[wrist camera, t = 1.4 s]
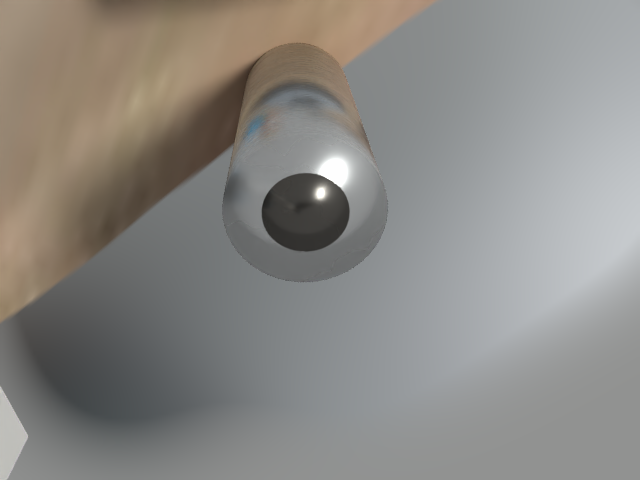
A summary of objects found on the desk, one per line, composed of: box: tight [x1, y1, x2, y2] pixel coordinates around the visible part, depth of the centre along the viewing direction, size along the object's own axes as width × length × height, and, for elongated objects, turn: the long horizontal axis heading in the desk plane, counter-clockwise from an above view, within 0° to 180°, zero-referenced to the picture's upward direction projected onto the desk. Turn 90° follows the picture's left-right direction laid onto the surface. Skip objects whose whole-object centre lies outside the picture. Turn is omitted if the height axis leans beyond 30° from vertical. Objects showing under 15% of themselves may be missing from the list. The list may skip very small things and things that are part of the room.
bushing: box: [222, 43, 388, 282], centre depth 21 cm, size 4×4×11 cm
